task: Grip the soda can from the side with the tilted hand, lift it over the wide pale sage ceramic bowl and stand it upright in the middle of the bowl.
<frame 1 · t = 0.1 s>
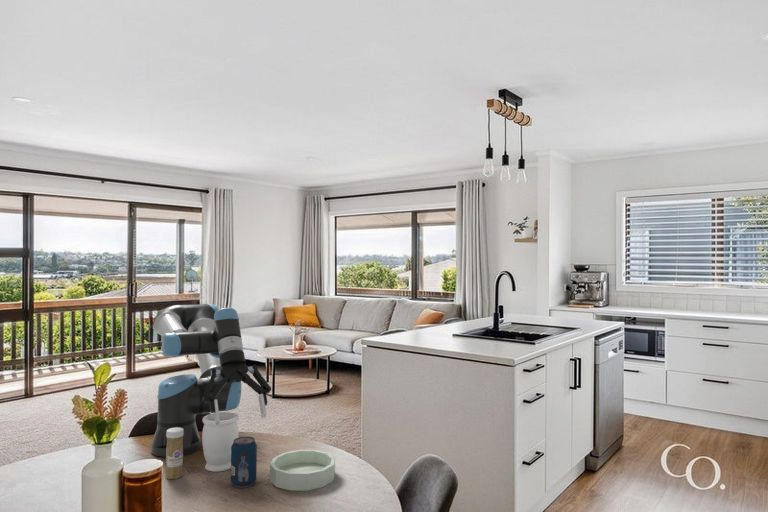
hand: (241, 419, 152), 15 cm above the table, tool tilted 35°, fingers open, 13 cm apart
soda can: (243, 483, 144), on the table
jar: (219, 467, 156), on the table
bowl: (303, 476, 149), on the table
sprinkles bottle: (174, 477, 148), on the table
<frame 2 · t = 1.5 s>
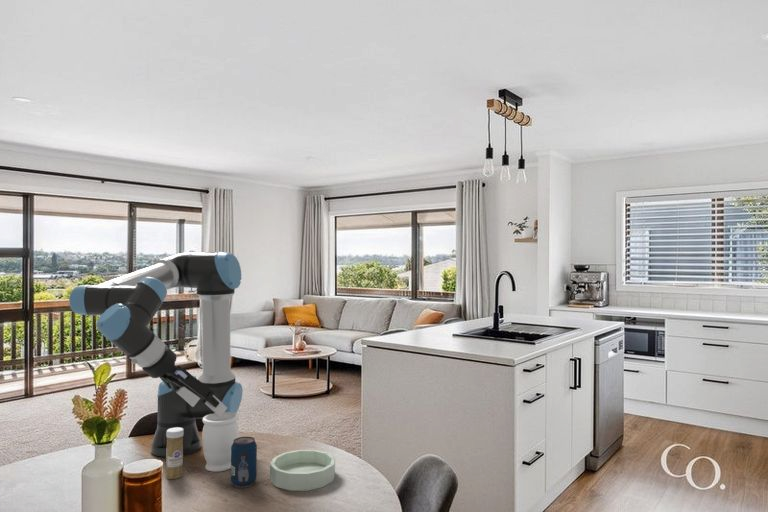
hand: (209, 407, 136), 23 cm above the table, tool tilted 45°, fingers open, 13 cm apart
nothing on the table moved.
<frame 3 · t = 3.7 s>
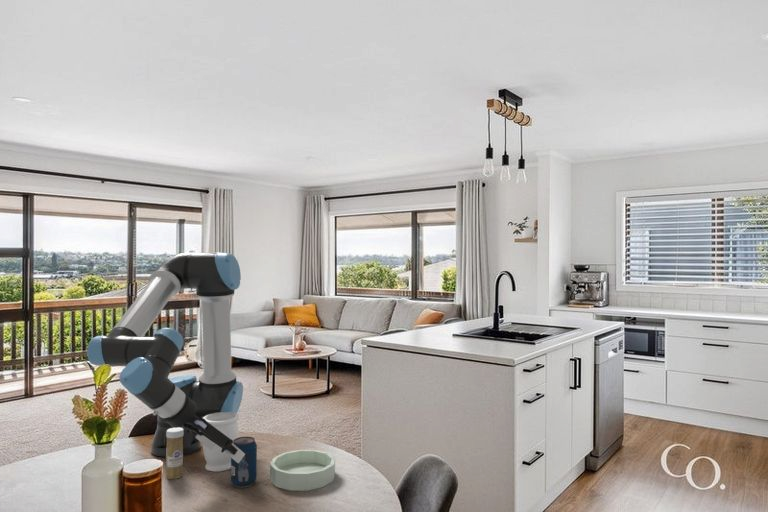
hand: (227, 451, 139), 10 cm above the table, tool tilted 45°, fingers open, 13 cm apart
nothing on the table moved.
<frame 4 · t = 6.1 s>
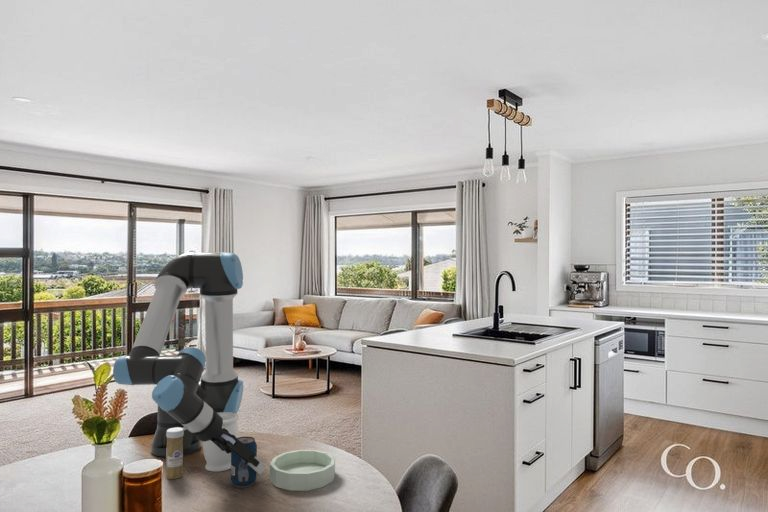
hand: (254, 466, 147), 4 cm above the table, tool tilted 45°, fingers closed on soda can, 7 cm apart
soda can: (243, 483, 144), on the table, touching gripper
everything else where it was.
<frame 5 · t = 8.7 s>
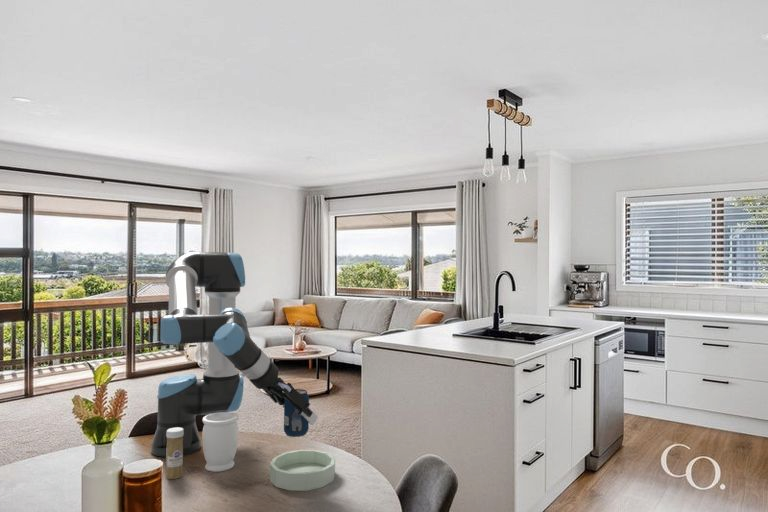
hand: (306, 418, 150), 17 cm above the table, tool tilted 45°, fingers closed on soda can, 7 cm apart
soda can: (296, 434, 147), point 13 cm above the table, touching gripper
everything else where it was.
when the fingers open (6 cm above the table, at t = 11.2 s): soda can drops 1 cm, resting on bowl.
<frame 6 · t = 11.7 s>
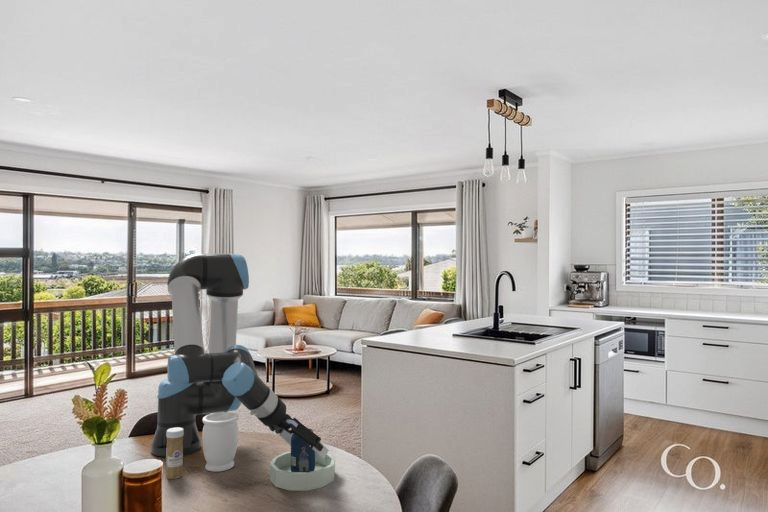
hand: (309, 448, 151), 7 cm above the table, tool tilted 45°, fingers open, 13 cm apart
soda can: (302, 474, 149), point 1 cm above the table, touching bowl
everything else where it was.
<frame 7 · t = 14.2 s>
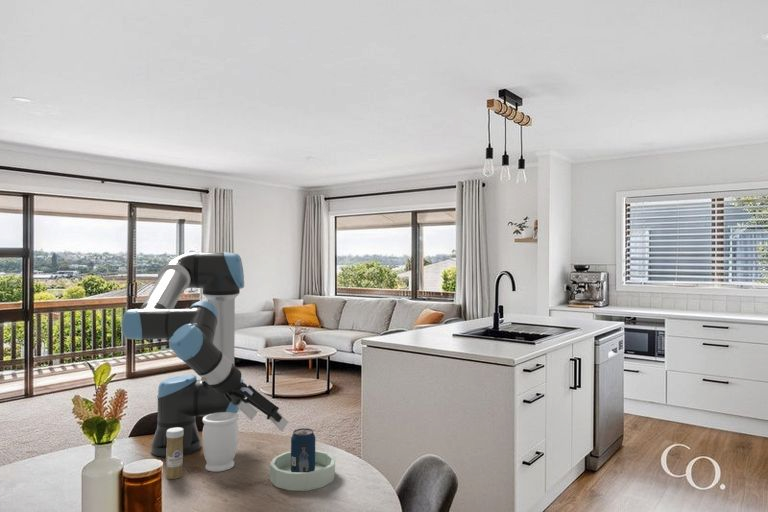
hand: (268, 420, 141), 18 cm above the table, tool tilted 45°, fingers open, 13 cm apart
nothing on the table moved.
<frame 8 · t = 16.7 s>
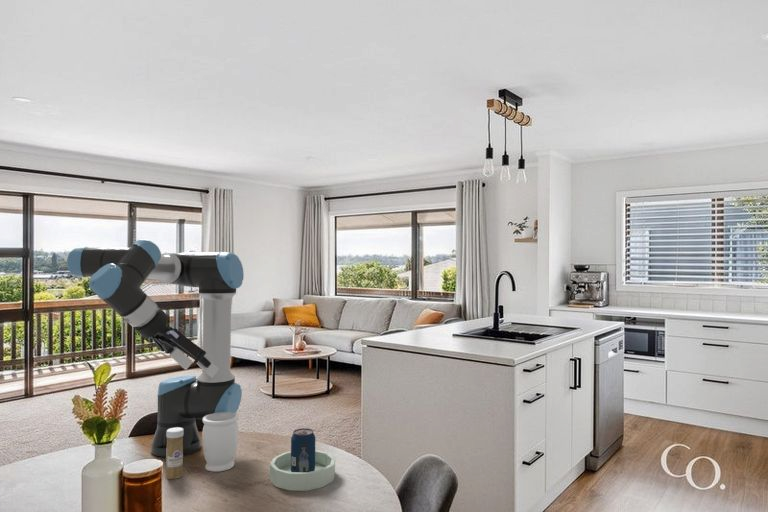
hand: (201, 369, 138), 33 cm above the table, tool tilted 45°, fingers open, 13 cm apart
nothing on the table moved.
at the end: soda can inside the target area on the bowl (0.1 cm from its centre), point 0.8 cm above the bowl's base; soda can tilted 0°; the gripper is holding nothing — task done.
